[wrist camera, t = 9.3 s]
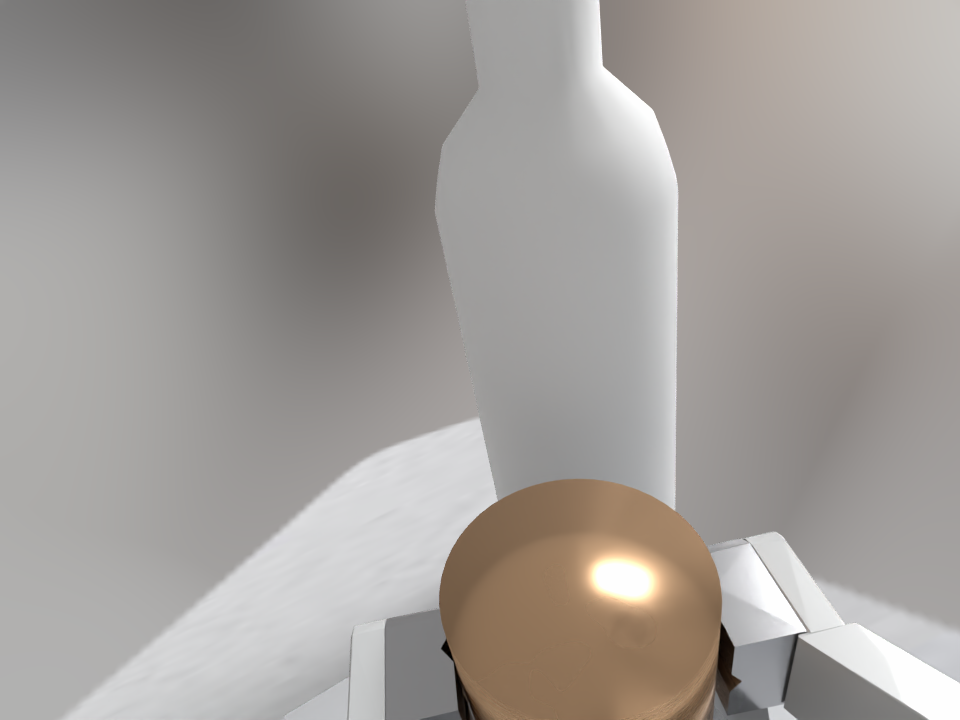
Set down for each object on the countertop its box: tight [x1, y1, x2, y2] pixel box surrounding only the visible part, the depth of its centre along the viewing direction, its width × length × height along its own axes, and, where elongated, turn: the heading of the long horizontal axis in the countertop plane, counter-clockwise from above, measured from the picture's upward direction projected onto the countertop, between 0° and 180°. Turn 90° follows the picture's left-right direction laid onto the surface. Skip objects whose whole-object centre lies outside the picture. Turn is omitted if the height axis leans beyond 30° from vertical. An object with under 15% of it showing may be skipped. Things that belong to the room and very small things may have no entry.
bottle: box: [435, 0, 678, 511], centre depth 22 cm, size 8×8×30 cm
